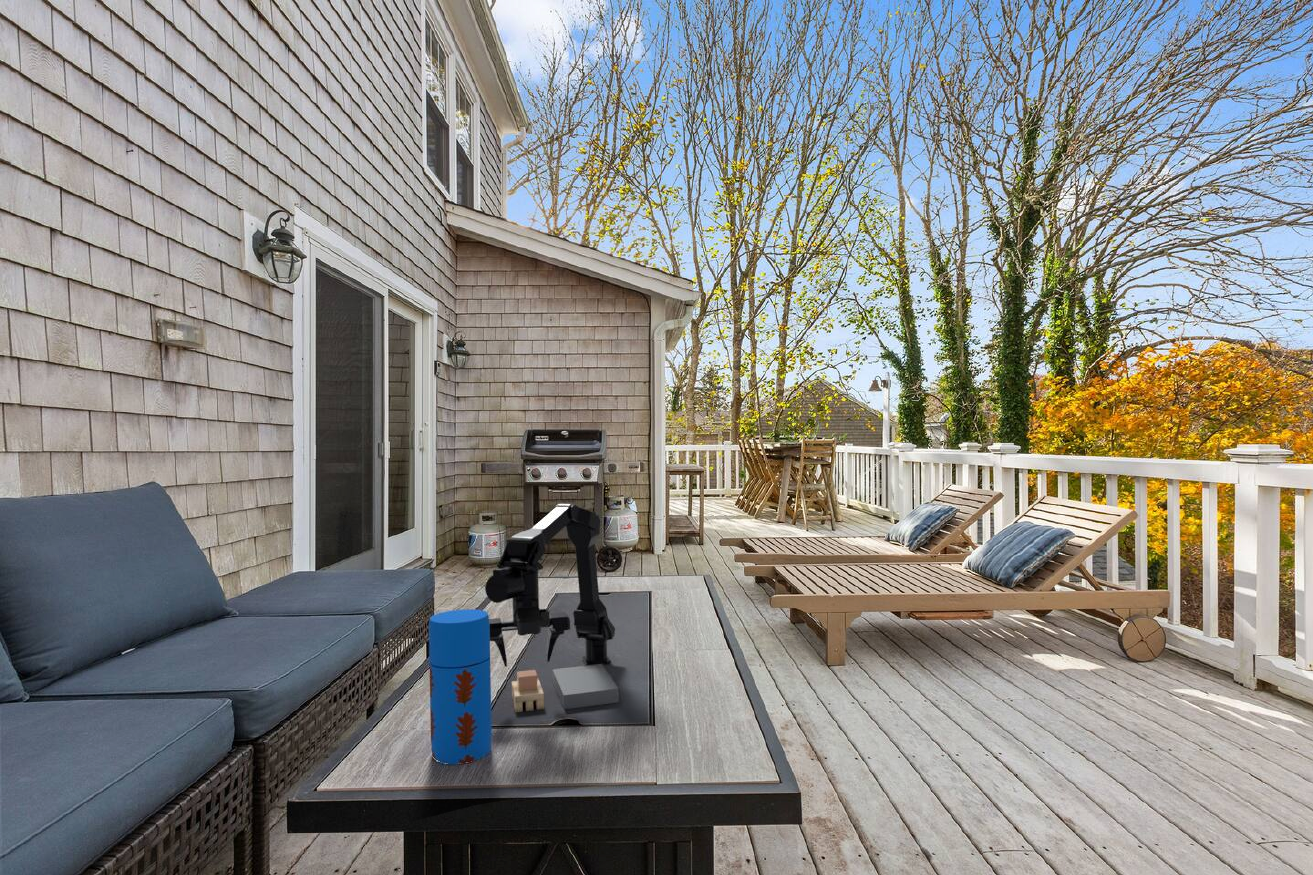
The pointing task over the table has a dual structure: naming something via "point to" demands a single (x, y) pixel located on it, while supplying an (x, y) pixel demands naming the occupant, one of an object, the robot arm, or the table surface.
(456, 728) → the thermos
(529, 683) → the block
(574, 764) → the table surface
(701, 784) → the table surface
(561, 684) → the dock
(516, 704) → the tray
